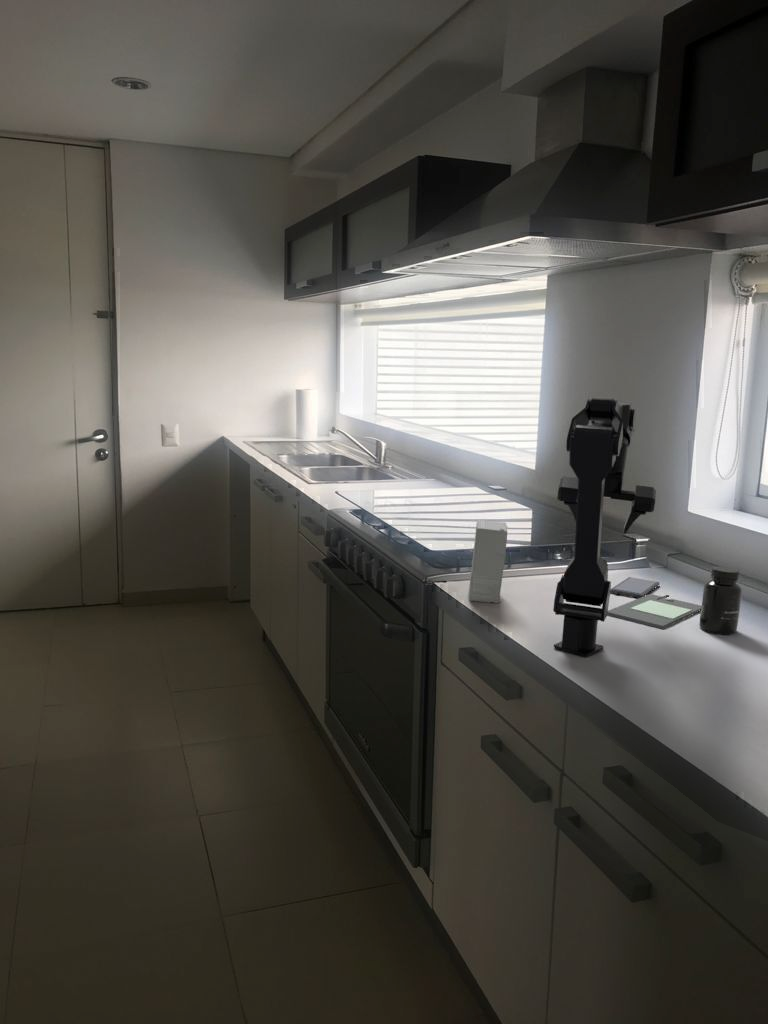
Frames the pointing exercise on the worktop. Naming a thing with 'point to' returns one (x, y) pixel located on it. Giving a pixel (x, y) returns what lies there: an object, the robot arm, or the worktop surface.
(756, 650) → the worktop surface
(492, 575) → the skincare box
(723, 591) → the supplement bottle
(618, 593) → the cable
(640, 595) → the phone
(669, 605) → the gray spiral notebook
